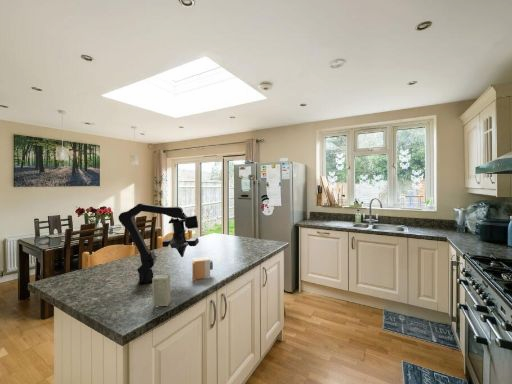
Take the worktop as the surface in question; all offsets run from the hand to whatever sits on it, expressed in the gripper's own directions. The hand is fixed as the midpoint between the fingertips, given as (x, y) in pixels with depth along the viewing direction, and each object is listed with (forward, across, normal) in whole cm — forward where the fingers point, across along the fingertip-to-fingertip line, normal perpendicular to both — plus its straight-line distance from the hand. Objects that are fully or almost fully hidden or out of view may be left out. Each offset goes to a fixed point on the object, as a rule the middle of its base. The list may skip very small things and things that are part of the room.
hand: (182, 256), depth 135 cm
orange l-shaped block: (+11, +10, -5) cm, 15 cm away
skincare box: (+6, +3, -33) cm, 34 cm away
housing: (+12, +9, +1) cm, 16 cm away
